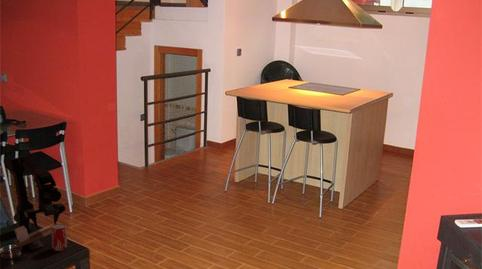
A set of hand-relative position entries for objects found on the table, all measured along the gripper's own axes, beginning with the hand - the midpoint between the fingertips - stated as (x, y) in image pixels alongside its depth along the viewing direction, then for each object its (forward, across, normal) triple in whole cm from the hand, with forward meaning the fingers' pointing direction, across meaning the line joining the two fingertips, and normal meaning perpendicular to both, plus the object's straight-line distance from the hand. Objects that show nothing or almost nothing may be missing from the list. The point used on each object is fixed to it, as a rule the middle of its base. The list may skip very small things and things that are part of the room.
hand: (45, 226), depth 261 cm
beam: (+5, -6, 0) cm, 7 cm away
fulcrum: (+9, -6, 0) cm, 10 cm away
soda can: (+9, +3, -11) cm, 14 cm away
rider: (+4, -11, 0) cm, 12 cm away
